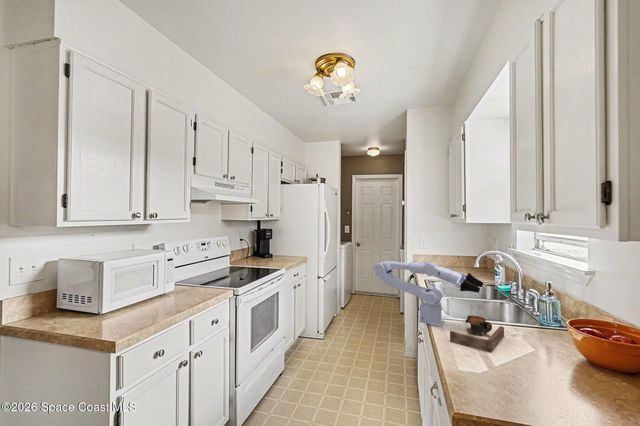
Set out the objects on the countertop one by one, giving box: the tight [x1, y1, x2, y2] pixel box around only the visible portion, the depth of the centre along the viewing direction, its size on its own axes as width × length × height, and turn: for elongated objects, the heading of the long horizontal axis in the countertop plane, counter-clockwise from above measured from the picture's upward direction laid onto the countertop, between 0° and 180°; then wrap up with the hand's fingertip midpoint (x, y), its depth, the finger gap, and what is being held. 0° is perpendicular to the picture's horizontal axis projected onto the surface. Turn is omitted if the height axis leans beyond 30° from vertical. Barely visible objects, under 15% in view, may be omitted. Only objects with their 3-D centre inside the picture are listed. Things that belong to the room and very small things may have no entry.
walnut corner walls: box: [449, 325, 505, 354], centre depth 123 cm, size 15×20×4 cm
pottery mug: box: [464, 315, 493, 337], centre depth 130 cm, size 12×10×8 cm
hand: (481, 287), depth 131 cm, fingers open, 7 cm apart
